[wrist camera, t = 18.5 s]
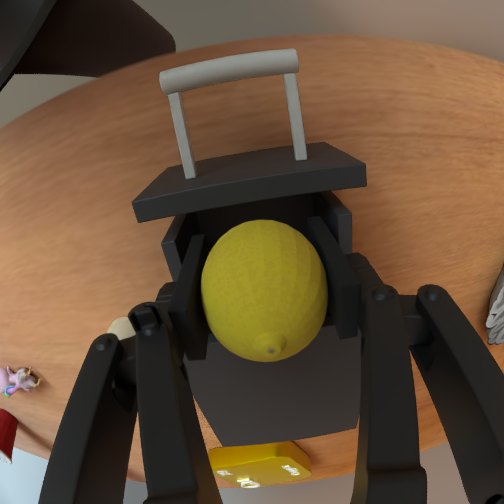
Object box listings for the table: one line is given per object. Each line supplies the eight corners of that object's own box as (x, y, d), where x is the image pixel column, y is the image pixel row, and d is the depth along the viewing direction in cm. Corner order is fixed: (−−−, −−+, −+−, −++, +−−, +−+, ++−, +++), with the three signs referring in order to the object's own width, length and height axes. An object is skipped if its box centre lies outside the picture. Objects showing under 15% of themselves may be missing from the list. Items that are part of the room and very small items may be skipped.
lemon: (324, 256, 17) (369, 358, 10) (245, 300, 19) (247, 410, 12) (276, 178, 15) (306, 251, 8) (189, 232, 16) (155, 334, 9)
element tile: (312, 457, 47) (315, 478, 43) (243, 472, 50) (244, 491, 45) (283, 432, 40) (286, 458, 36) (203, 449, 43) (201, 472, 39)
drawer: (149, 87, 18) (102, 82, 11) (313, 59, 17) (351, 38, 10) (208, 313, 27) (199, 381, 20) (333, 294, 27) (358, 357, 20)
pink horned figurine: (28, 352, 34) (-18, 364, 33) (15, 380, 28) (-29, 386, 28) (50, 379, 37) (2, 387, 36) (41, 407, 31) (-7, 410, 31)
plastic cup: (8, 406, 42) (-10, 445, 31) (33, 431, 47) (19, 469, 36) (-16, 397, 42) (-33, 432, 31) (8, 422, 47) (-6, 456, 36)
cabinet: (189, 265, 26) (167, 347, 17) (336, 242, 25) (378, 315, 16) (225, 373, 33) (223, 447, 24) (335, 357, 32) (356, 428, 23)
